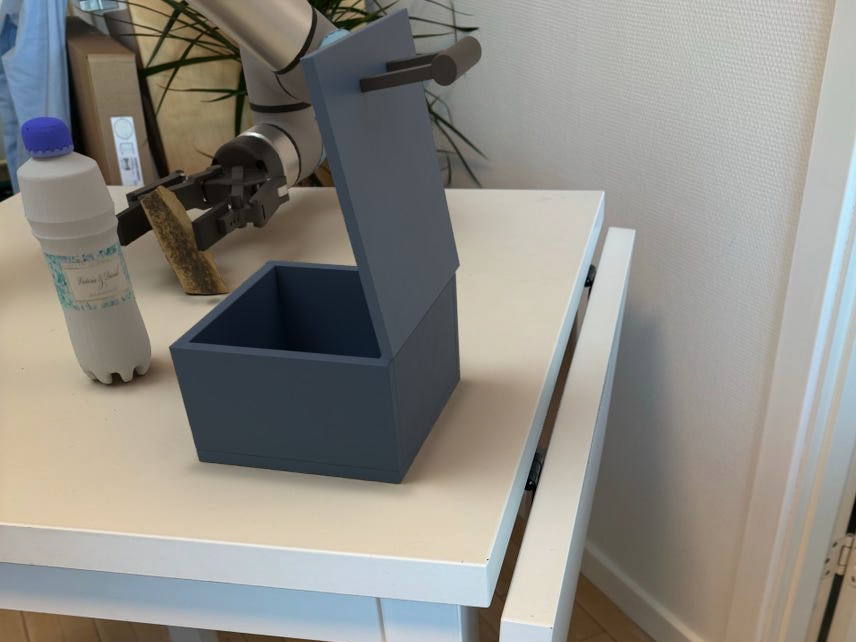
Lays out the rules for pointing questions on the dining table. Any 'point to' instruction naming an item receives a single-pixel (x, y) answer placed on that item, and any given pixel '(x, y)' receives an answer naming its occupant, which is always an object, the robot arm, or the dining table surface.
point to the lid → (388, 165)
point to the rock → (181, 243)
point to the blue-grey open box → (314, 376)
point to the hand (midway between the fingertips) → (158, 234)
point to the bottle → (82, 252)
